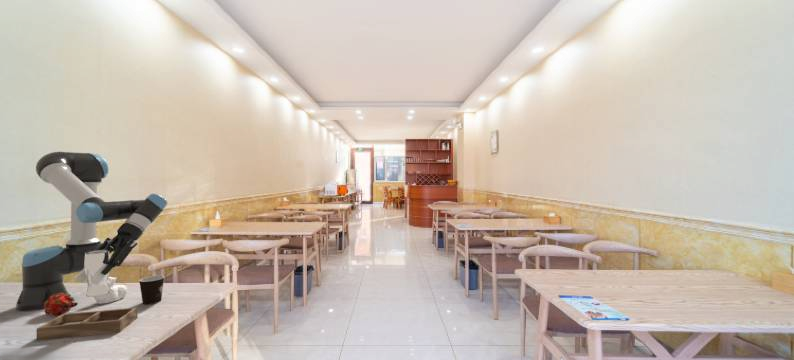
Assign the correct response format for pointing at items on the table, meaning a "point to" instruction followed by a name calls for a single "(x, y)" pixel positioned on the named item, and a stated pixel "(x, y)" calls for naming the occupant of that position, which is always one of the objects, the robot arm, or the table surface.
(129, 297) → the table surface
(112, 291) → the white lumpy irregular piece
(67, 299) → the dragon fruit
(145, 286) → the coffee mug
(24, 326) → the table surface
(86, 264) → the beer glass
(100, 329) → the wooden tray
